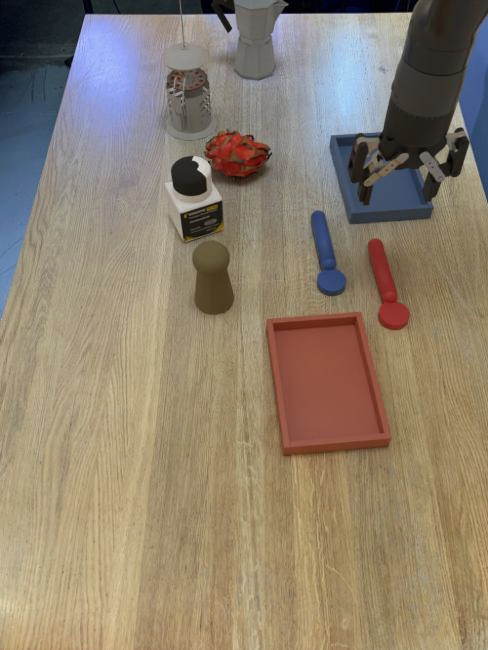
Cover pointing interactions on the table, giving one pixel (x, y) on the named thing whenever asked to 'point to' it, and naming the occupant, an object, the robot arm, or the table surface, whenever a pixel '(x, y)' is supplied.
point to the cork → (212, 278)
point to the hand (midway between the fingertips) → (395, 199)
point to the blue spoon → (326, 257)
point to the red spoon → (387, 289)
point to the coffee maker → (253, 34)
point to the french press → (188, 91)
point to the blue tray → (379, 188)
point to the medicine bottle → (194, 199)
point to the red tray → (325, 384)
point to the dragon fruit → (236, 154)
